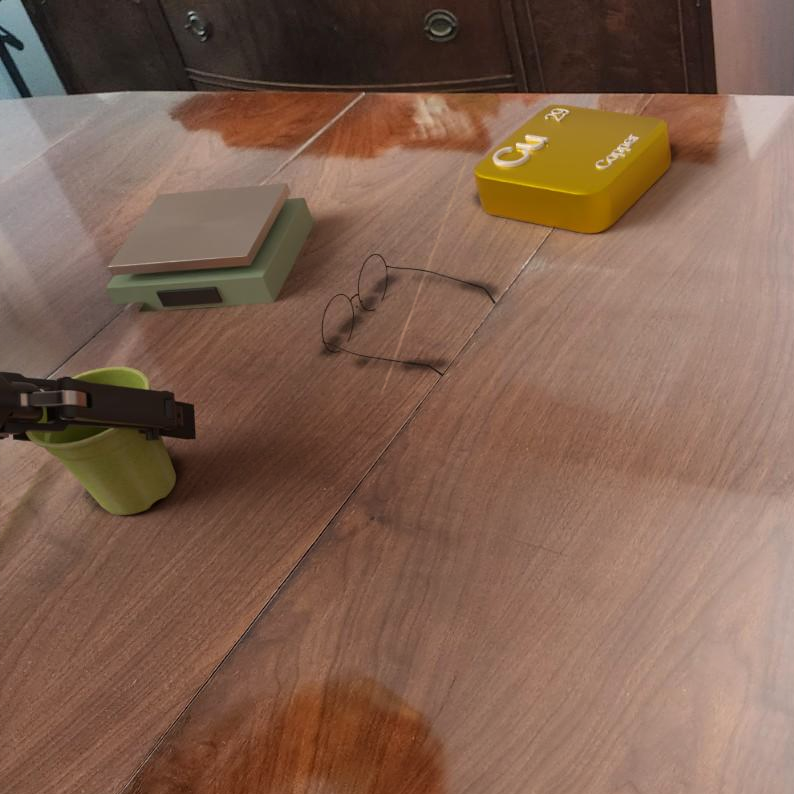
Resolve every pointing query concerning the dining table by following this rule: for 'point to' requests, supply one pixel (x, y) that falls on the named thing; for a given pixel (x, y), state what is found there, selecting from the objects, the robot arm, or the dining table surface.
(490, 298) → the eyeglasses
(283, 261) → the scale
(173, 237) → the weighing pan
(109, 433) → the plant pot
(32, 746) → the dining table surface
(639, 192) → the element tile
